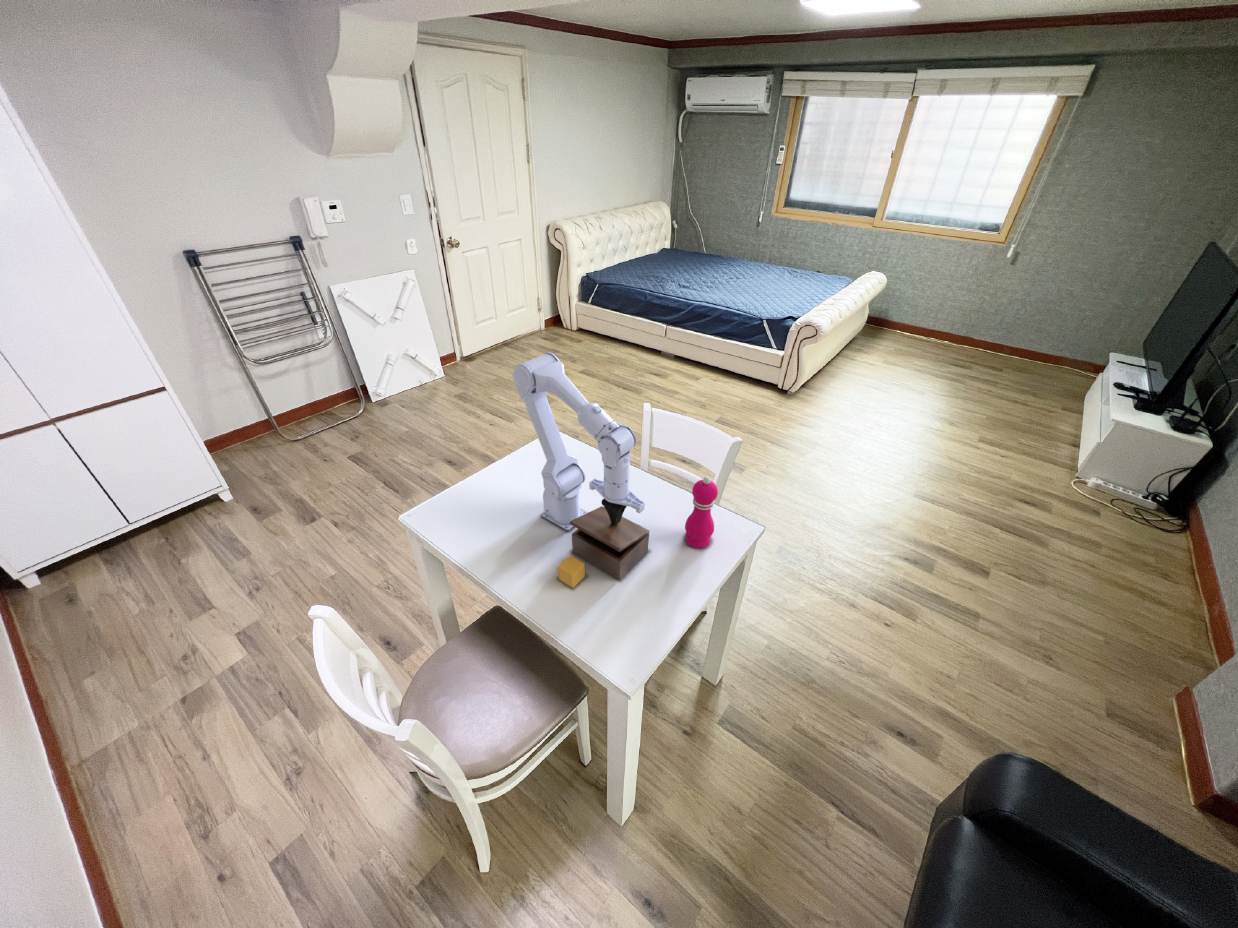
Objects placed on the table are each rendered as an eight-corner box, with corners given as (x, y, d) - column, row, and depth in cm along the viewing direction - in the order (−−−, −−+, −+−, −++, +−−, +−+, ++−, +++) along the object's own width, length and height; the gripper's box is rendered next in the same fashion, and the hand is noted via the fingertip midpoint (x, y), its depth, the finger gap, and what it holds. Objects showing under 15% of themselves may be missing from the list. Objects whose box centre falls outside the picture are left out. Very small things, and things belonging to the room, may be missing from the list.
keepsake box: (619, 580, 113) (620, 561, 110) (572, 552, 120) (571, 533, 117) (647, 551, 121) (649, 533, 117) (601, 526, 128) (601, 508, 124)
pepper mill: (704, 554, 120) (715, 491, 109) (678, 542, 124) (686, 480, 112) (716, 536, 125) (727, 474, 114) (690, 526, 128) (699, 464, 117)
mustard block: (558, 579, 113) (557, 566, 111) (571, 567, 116) (570, 554, 114) (572, 588, 111) (571, 575, 109) (585, 576, 114) (584, 563, 112)
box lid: (619, 551, 107) (620, 548, 107) (569, 523, 114) (570, 521, 114) (648, 533, 117) (649, 530, 117) (601, 508, 124) (601, 506, 124)
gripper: (653, 480, 108) (650, 525, 116) (602, 457, 115) (602, 501, 123) (635, 496, 104) (633, 542, 112) (582, 471, 111) (584, 516, 119)
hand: (615, 522), depth 117 cm, fingers closed
